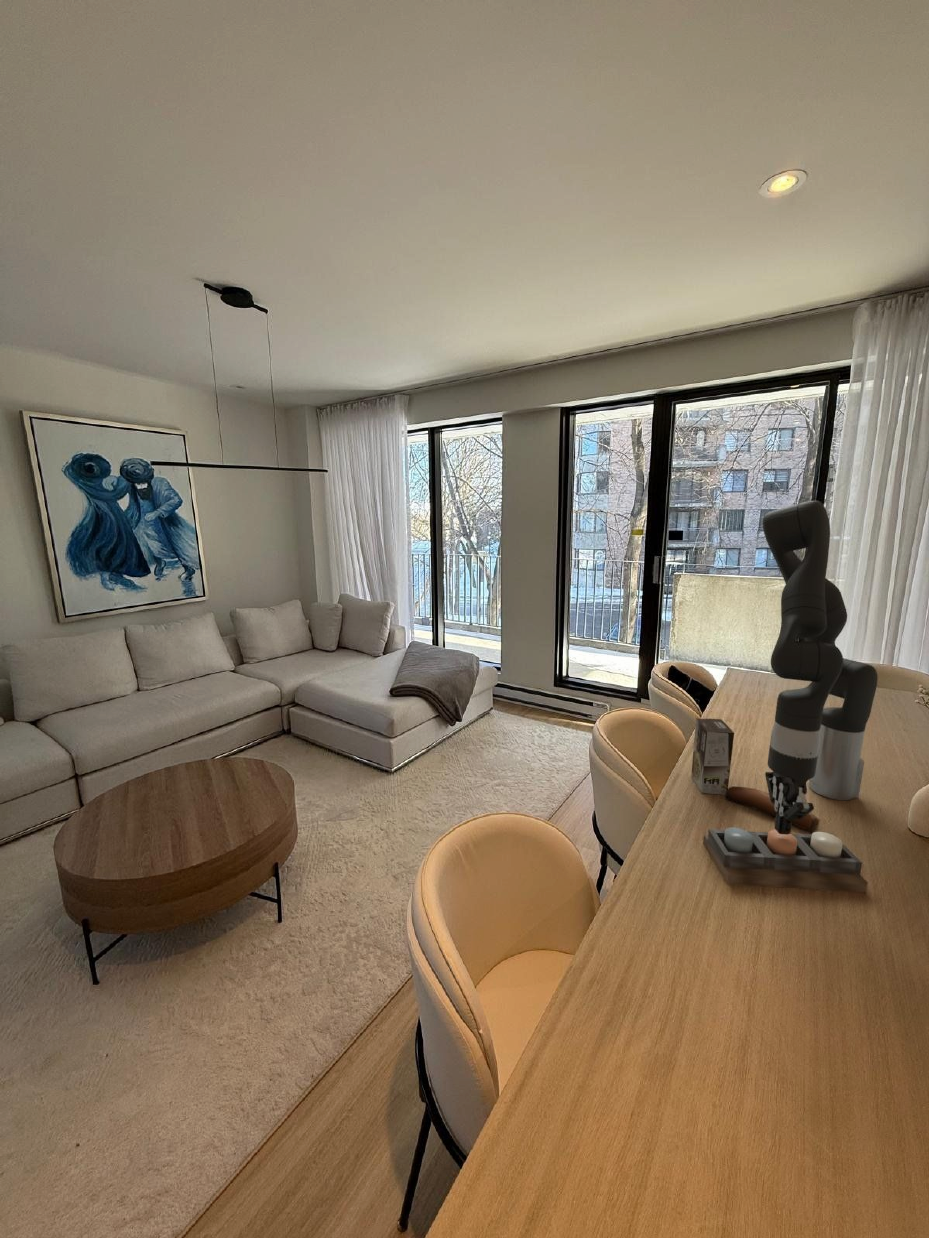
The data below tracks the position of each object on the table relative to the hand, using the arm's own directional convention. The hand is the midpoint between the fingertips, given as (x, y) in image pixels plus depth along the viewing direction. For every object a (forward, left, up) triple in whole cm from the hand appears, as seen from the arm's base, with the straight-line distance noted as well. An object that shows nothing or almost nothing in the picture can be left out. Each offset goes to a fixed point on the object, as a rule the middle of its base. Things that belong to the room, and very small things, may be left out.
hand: (782, 831), depth 97 cm
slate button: (+8, 0, -4) cm, 9 cm away
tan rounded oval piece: (0, 0, -4) cm, 4 cm away
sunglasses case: (-9, -20, -8) cm, 23 cm away
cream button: (-8, 0, -4) cm, 9 cm away
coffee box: (+2, -30, -8) cm, 31 cm away
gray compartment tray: (0, 0, -7) cm, 7 cm away
